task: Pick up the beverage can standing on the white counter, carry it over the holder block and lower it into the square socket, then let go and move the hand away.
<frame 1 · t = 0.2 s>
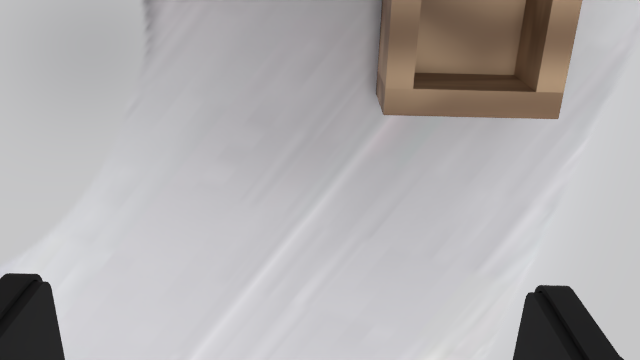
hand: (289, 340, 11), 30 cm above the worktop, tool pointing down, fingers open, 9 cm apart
holder: (463, 15, 38), on the worktop
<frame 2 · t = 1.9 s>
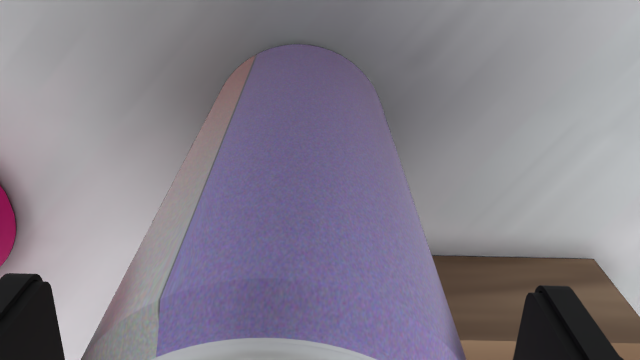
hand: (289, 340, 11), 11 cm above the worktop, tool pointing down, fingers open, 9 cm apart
beverage can: (299, 121, 21), on the worktop
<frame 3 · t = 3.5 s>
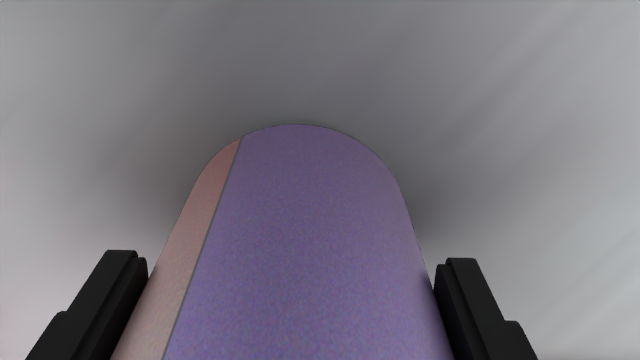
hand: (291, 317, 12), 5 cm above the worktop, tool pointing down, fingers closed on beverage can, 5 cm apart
beverage can: (298, 213, 16), on the worktop, touching gripper
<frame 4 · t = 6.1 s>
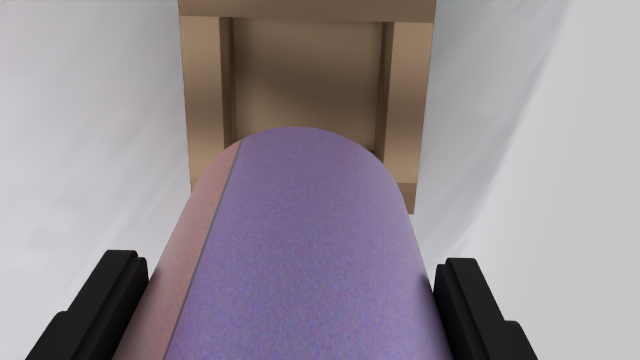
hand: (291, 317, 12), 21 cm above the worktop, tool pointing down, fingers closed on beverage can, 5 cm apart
holder: (307, 78, 31), on the worktop
beverage can: (298, 215, 16), point 16 cm above the worktop, touching gripper
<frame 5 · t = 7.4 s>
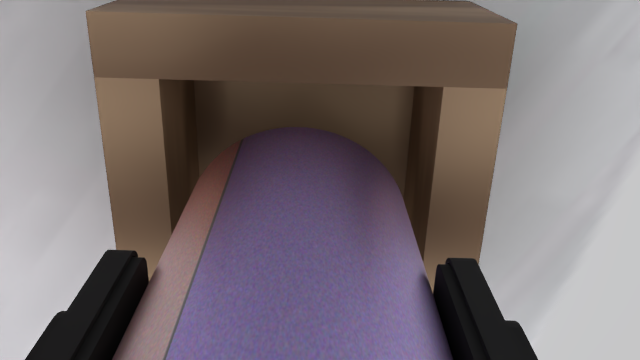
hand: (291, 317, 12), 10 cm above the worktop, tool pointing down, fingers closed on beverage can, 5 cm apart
holder: (303, 150, 21), on the worktop
beverage can: (298, 216, 16), point 5 cm above the worktop, touching gripper
when the fingers open (6 cm above the worktop, at t = 8.7 s): beverage can stays where it is, resting on holder.
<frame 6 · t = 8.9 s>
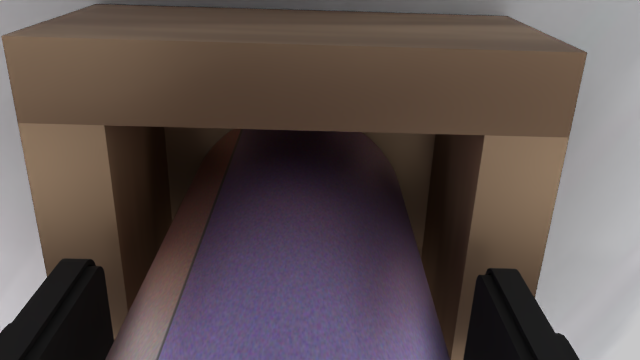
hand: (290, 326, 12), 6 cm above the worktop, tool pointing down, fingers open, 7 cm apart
holder: (299, 196, 18), on the worktop
beverage can: (297, 197, 17), resting on holder
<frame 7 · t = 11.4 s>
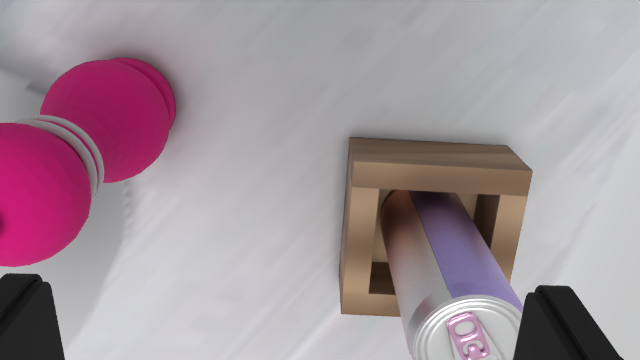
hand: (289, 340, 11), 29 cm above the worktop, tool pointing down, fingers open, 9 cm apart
pepper mill: (130, 103, 39), on the worktop
holder: (419, 213, 42), on the worktop
beverage can: (419, 214, 41), resting on holder
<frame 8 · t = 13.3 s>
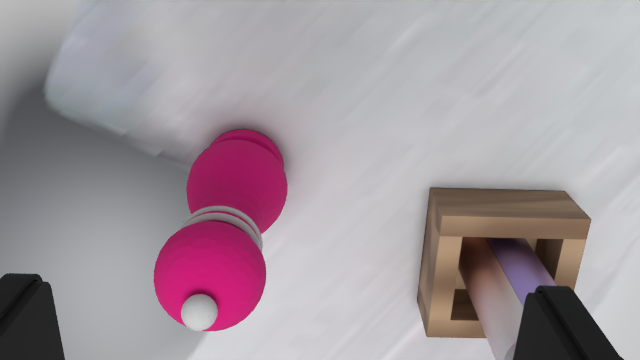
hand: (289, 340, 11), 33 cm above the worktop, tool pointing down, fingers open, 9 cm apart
pepper mill: (244, 164, 46), on the worktop
holder: (487, 248, 49), on the worktop
beverage can: (488, 248, 48), resting on holder
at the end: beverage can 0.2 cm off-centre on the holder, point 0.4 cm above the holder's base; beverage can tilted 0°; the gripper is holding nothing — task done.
